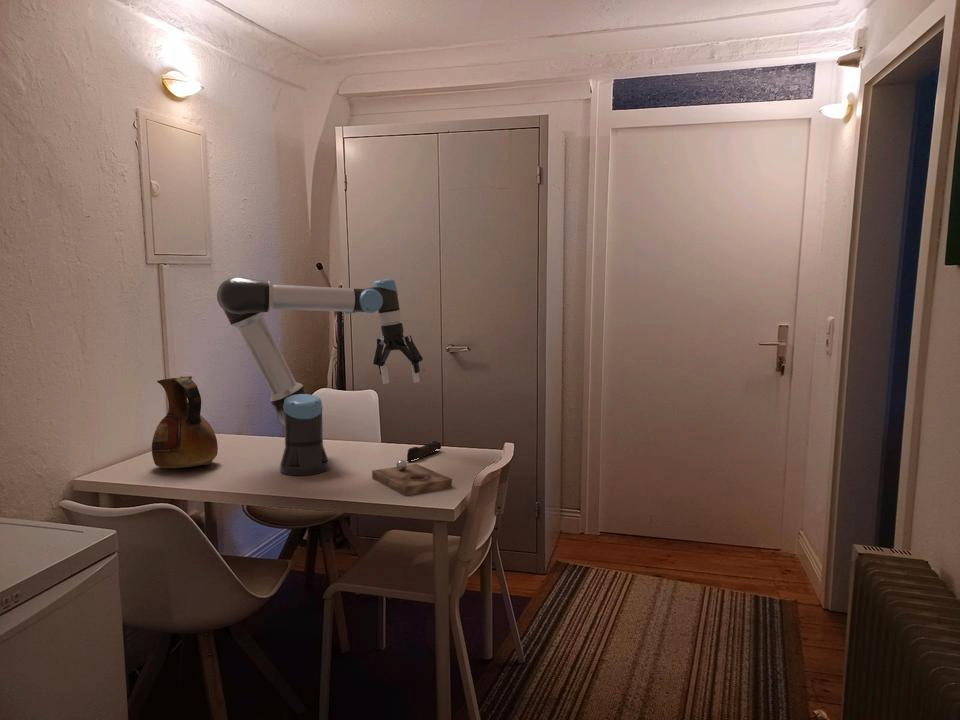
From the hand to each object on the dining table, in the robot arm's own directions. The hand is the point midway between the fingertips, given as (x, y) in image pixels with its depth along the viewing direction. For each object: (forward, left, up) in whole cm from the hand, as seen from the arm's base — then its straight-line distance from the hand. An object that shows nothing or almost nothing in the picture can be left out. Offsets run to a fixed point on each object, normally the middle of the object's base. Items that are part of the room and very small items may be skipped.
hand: (401, 382), depth 246 cm
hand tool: (+2, -13, -25) cm, 28 cm away
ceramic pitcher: (-69, +17, -25) cm, 75 cm away
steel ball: (-17, -35, -20) cm, 44 cm away
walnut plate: (-17, -41, -24) cm, 50 cm away
